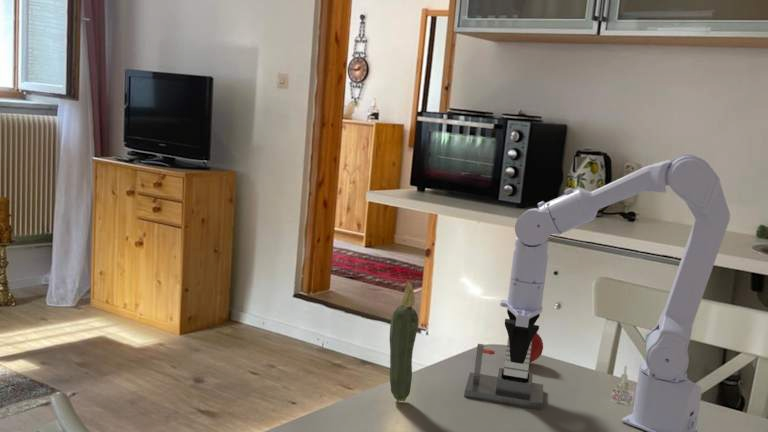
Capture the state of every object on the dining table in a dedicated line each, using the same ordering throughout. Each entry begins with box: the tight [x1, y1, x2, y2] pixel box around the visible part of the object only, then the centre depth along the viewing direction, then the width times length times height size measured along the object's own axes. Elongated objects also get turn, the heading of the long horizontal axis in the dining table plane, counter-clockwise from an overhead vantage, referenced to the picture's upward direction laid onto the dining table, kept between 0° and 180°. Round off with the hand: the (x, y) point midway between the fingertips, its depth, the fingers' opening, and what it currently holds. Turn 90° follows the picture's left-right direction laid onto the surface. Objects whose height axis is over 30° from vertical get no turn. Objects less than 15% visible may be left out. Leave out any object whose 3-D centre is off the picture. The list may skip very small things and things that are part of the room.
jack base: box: [463, 343, 544, 411], centre depth 127 cm, size 13×9×8 cm
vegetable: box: [389, 280, 419, 403], centre depth 118 cm, size 4×4×20 cm
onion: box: [529, 332, 544, 364], centre depth 144 cm, size 6×6×8 cm
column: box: [503, 337, 532, 379], centre depth 127 cm, size 4×4×6 cm
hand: (517, 356), depth 127 cm, fingers open, 6 cm apart
